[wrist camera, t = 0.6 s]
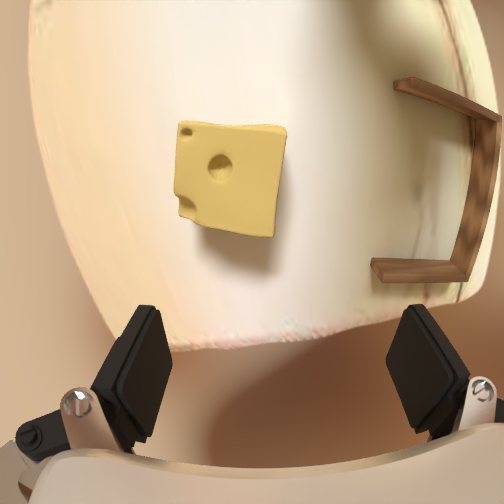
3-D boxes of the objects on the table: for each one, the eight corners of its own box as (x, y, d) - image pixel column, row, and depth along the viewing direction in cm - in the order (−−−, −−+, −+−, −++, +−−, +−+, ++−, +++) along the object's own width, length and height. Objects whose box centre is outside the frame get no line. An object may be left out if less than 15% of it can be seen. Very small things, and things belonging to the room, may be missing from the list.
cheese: (190, 200, 35) (167, 227, 26) (198, 117, 30) (174, 114, 21) (270, 210, 35) (274, 242, 26) (284, 127, 31) (294, 127, 22)
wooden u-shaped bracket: (394, 81, 27) (412, 77, 22) (481, 114, 26) (501, 116, 22) (370, 264, 38) (382, 282, 34) (452, 266, 38) (467, 281, 34)
